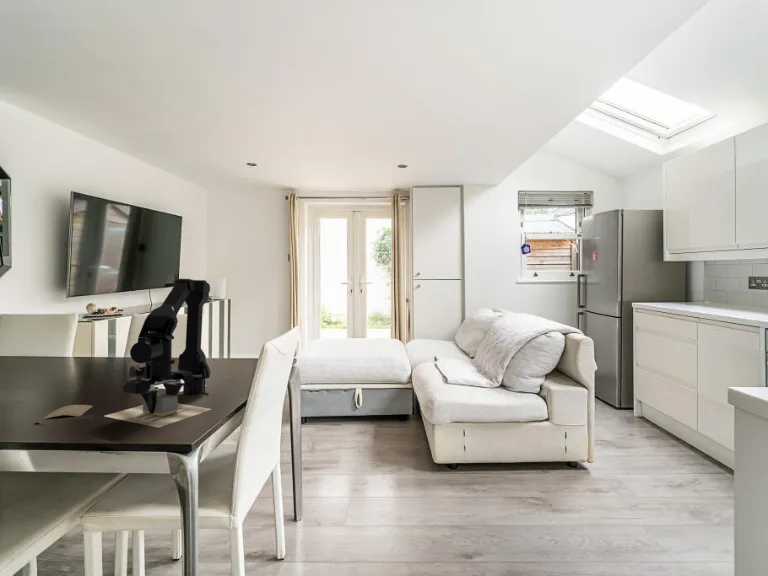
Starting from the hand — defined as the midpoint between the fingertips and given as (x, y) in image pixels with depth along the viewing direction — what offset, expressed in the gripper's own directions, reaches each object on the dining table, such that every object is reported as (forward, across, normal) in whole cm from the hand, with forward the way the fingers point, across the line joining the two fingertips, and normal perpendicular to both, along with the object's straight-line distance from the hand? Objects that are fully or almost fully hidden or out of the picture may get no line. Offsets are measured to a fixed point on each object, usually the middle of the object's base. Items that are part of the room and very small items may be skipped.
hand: (160, 410), depth 123 cm
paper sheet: (+2, -22, -29) cm, 37 cm away
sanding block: (0, 0, 0) cm, 0 cm away
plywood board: (+2, 0, 0) cm, 2 cm away
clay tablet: (+3, +11, -23) cm, 26 cm away
